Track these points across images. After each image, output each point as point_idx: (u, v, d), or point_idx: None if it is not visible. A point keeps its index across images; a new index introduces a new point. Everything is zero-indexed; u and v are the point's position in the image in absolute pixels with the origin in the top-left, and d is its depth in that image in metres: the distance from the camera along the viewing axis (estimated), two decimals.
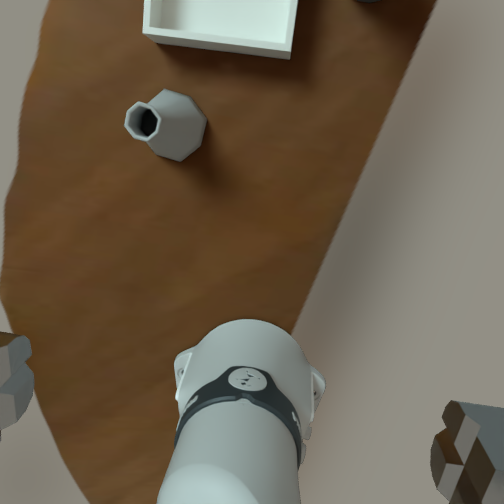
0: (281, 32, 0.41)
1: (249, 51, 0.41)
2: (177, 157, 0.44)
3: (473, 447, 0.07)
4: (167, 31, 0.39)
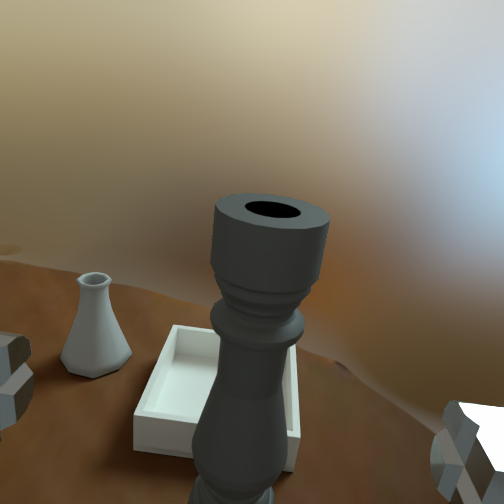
0: None
1: None
2: (64, 348, 0.45)
3: (473, 447, 0.07)
4: (172, 336, 0.45)
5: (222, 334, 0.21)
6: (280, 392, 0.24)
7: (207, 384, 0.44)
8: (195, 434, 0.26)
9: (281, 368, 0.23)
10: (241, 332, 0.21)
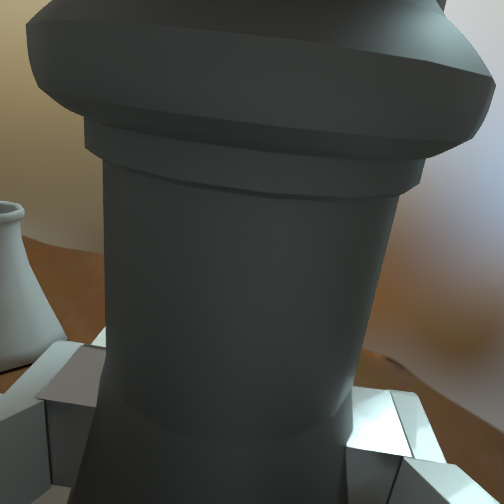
0: None
1: None
2: None
3: None
4: None
5: (48, 50, 0.03)
6: (350, 406, 0.06)
7: None
8: None
9: (366, 298, 0.05)
10: None
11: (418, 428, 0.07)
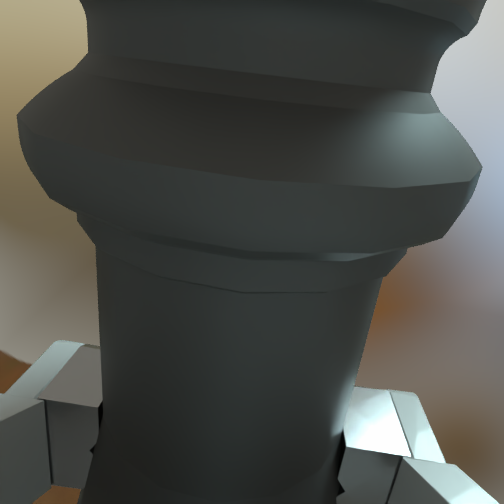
0: None
1: None
2: None
3: None
4: None
5: (33, 155, 0.04)
6: (338, 454, 0.06)
7: None
8: None
9: (351, 363, 0.05)
10: (124, 117, 0.03)
11: (417, 428, 0.07)
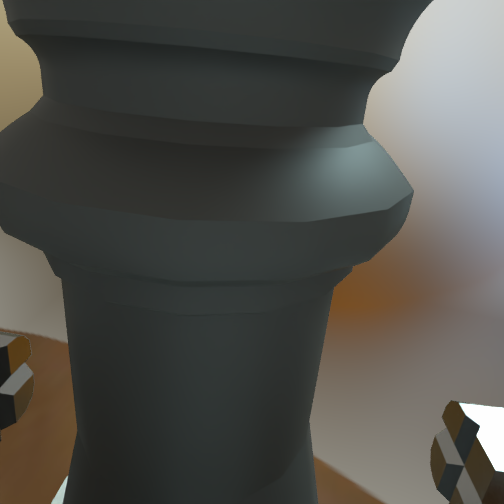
0: None
1: None
2: None
3: (473, 447, 0.07)
4: None
5: None
6: (303, 460, 0.07)
7: None
8: None
9: (305, 374, 0.06)
10: (62, 163, 0.03)
11: None
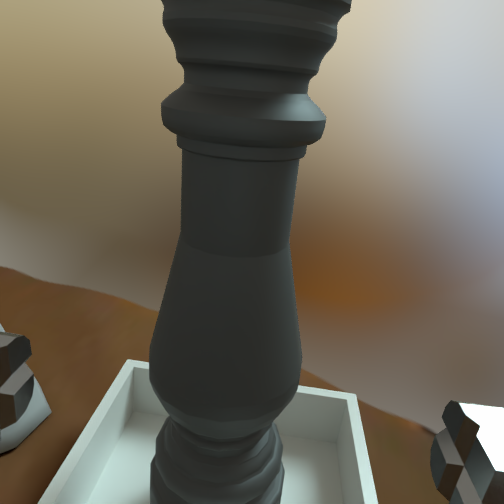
0: None
1: None
2: None
3: (473, 447, 0.07)
4: (119, 385, 0.23)
5: (173, 116, 0.12)
6: (286, 256, 0.14)
7: None
8: (153, 336, 0.16)
9: (285, 202, 0.13)
10: (205, 103, 0.11)
11: None
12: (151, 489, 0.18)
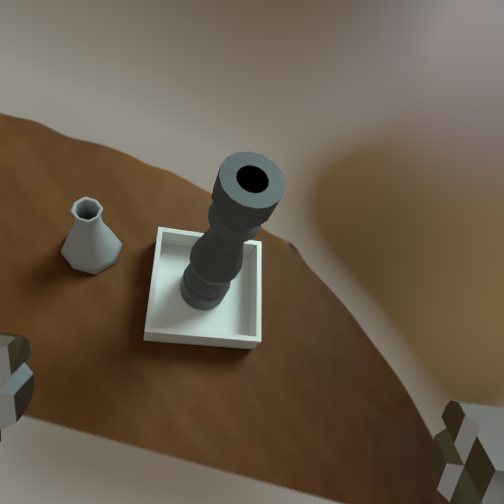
0: None
1: None
2: (63, 247, 0.52)
3: (473, 447, 0.07)
4: (159, 243, 0.53)
5: (215, 232, 0.38)
6: (242, 246, 0.43)
7: None
8: (192, 256, 0.46)
9: None
10: (226, 234, 0.38)
11: None
12: (185, 288, 0.52)
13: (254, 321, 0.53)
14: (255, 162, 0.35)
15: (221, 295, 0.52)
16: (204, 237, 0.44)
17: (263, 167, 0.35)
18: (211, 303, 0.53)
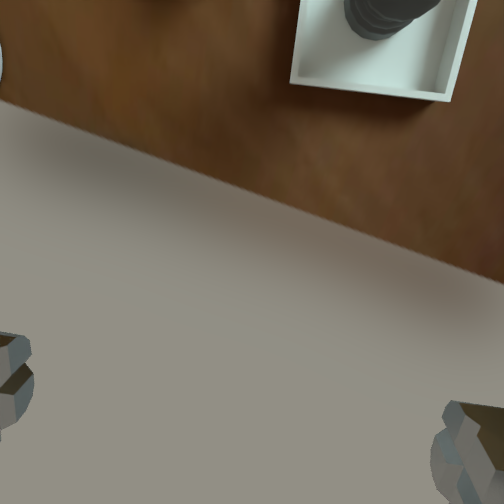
0: (315, 72, 0.39)
1: None
2: None
3: (473, 447, 0.07)
4: None
5: None
6: None
7: None
8: None
9: None
10: None
11: None
12: (351, 11, 0.34)
13: (448, 66, 0.36)
14: None
15: (405, 23, 0.34)
16: None
17: None
18: (388, 35, 0.35)
